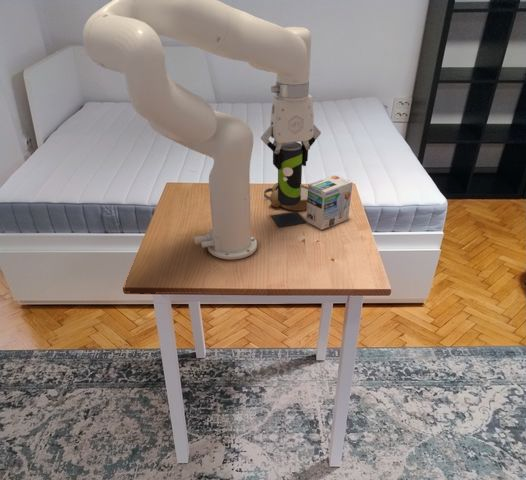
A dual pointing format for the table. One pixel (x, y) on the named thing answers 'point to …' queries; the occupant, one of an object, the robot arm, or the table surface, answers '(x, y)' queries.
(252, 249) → the robot arm
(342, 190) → the light bulb box
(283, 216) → the mat
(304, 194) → the alarm clock
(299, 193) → the beverage can
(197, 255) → the table surface
